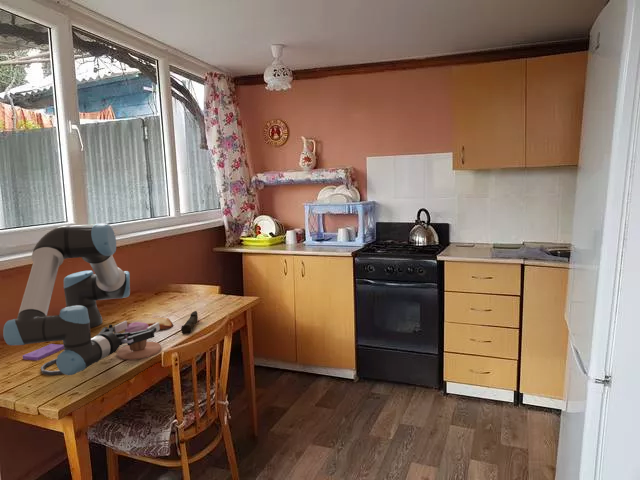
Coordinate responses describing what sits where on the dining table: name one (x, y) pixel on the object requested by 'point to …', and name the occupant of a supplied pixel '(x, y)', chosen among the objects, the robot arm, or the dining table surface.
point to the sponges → (43, 352)
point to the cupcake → (134, 328)
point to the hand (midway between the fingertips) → (142, 325)
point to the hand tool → (190, 323)
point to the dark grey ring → (50, 371)
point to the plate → (148, 351)
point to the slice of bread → (163, 322)
